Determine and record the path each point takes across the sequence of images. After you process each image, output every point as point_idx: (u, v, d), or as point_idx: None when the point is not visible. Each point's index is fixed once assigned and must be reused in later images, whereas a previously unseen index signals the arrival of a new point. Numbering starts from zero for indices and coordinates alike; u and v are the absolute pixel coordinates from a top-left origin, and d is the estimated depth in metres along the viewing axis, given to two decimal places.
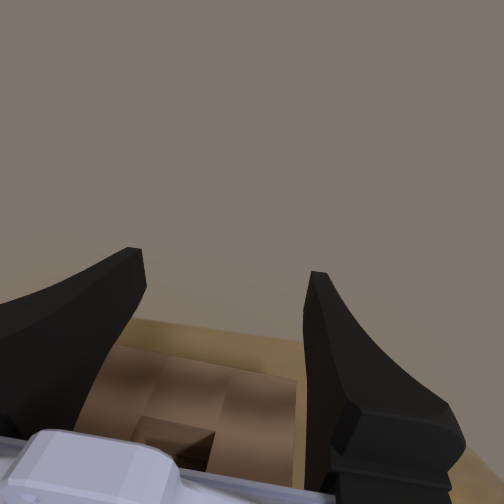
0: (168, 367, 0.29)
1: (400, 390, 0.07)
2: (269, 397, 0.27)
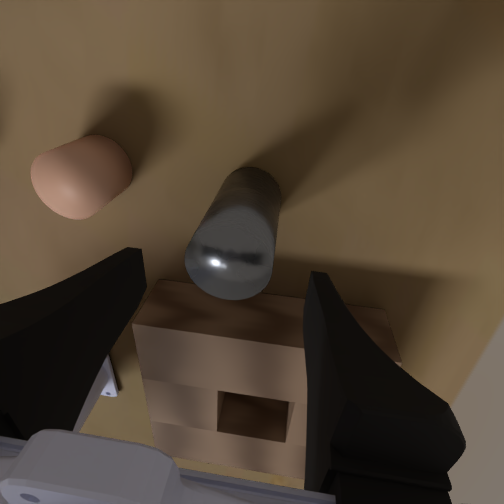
0: None
1: (400, 390, 0.07)
2: None
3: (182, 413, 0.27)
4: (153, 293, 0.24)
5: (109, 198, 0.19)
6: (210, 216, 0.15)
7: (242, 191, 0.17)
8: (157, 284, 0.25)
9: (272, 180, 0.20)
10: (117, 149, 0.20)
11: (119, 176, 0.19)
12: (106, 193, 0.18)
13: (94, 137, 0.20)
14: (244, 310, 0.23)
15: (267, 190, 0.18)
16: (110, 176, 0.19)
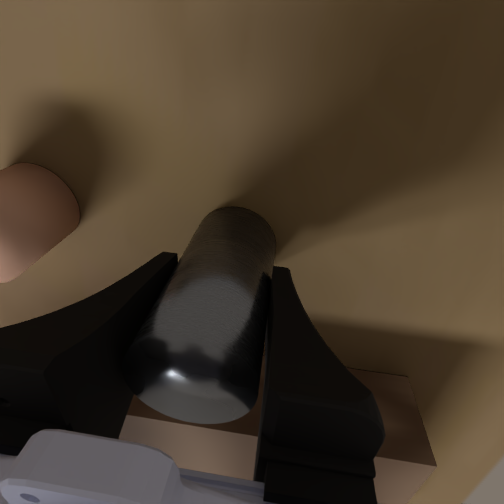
0: None
1: (327, 379, 0.07)
2: None
3: None
4: None
5: (41, 252, 0.14)
6: (164, 302, 0.10)
7: (218, 252, 0.11)
8: None
9: (263, 225, 0.15)
10: (54, 182, 0.15)
11: (54, 221, 0.14)
12: (32, 247, 0.13)
13: (20, 168, 0.14)
14: None
15: (255, 245, 0.13)
16: (37, 224, 0.13)
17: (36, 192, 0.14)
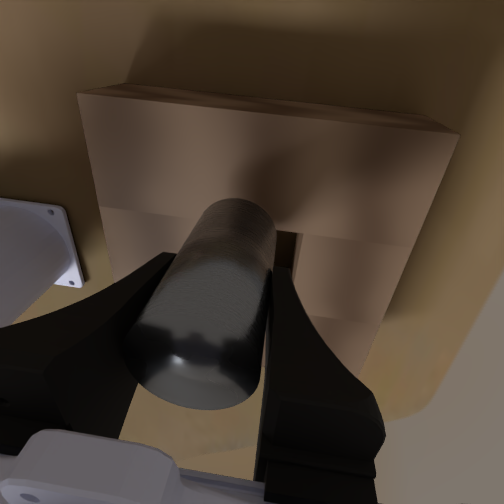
0: (385, 250, 0.18)
1: (328, 379, 0.07)
2: None
3: None
4: (113, 86, 0.18)
5: None
6: (163, 286, 0.10)
7: (217, 239, 0.11)
8: (121, 84, 0.19)
9: (263, 215, 0.15)
10: None
11: None
12: None
13: None
14: (236, 101, 0.17)
15: (254, 233, 0.13)
16: None
17: None
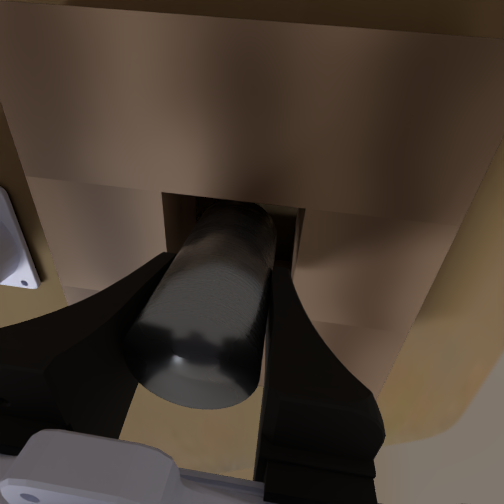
0: (421, 230, 0.13)
1: (328, 379, 0.07)
2: None
3: (108, 261, 0.16)
4: None
5: None
6: (163, 285, 0.10)
7: (217, 238, 0.11)
8: None
9: (263, 214, 0.15)
10: None
11: None
12: None
13: None
14: None
15: (254, 232, 0.13)
16: None
17: None
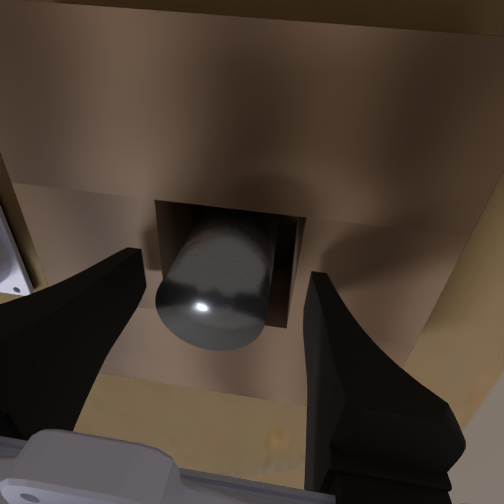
0: (428, 241, 0.12)
1: (400, 391, 0.07)
2: None
3: None
4: None
5: None
6: (186, 249, 0.12)
7: (229, 212, 0.14)
8: None
9: None
10: None
11: None
12: None
13: None
14: None
15: None
16: None
17: None
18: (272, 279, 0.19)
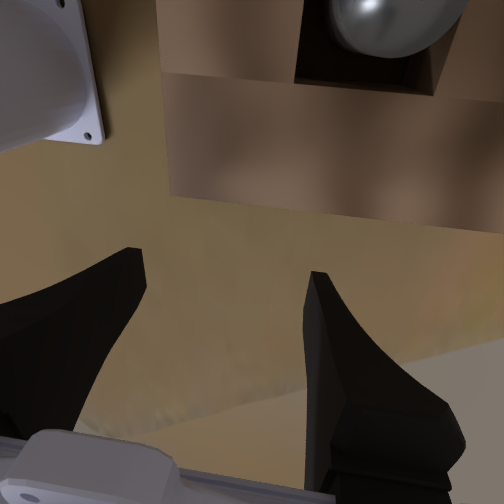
0: None
1: (400, 390, 0.07)
2: (482, 189, 0.15)
3: (227, 23, 0.13)
4: None
5: None
6: None
7: None
8: None
9: None
10: None
11: None
12: None
13: None
14: None
15: None
16: None
17: None
18: (390, 85, 0.17)
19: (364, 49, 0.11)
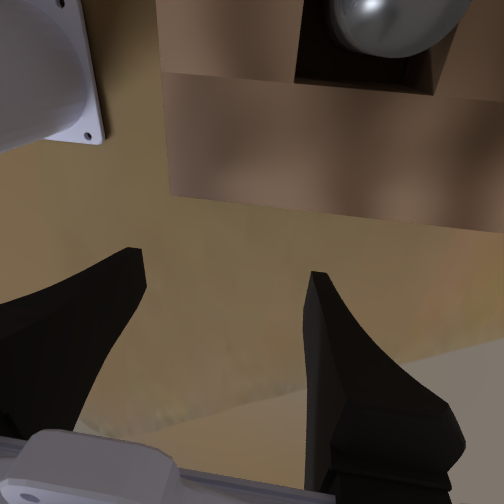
0: None
1: (400, 390, 0.07)
2: (482, 188, 0.15)
3: (227, 22, 0.13)
4: None
5: None
6: None
7: None
8: None
9: None
10: None
11: None
12: None
13: None
14: None
15: None
16: None
17: None
18: (390, 85, 0.17)
19: (367, 49, 0.11)
